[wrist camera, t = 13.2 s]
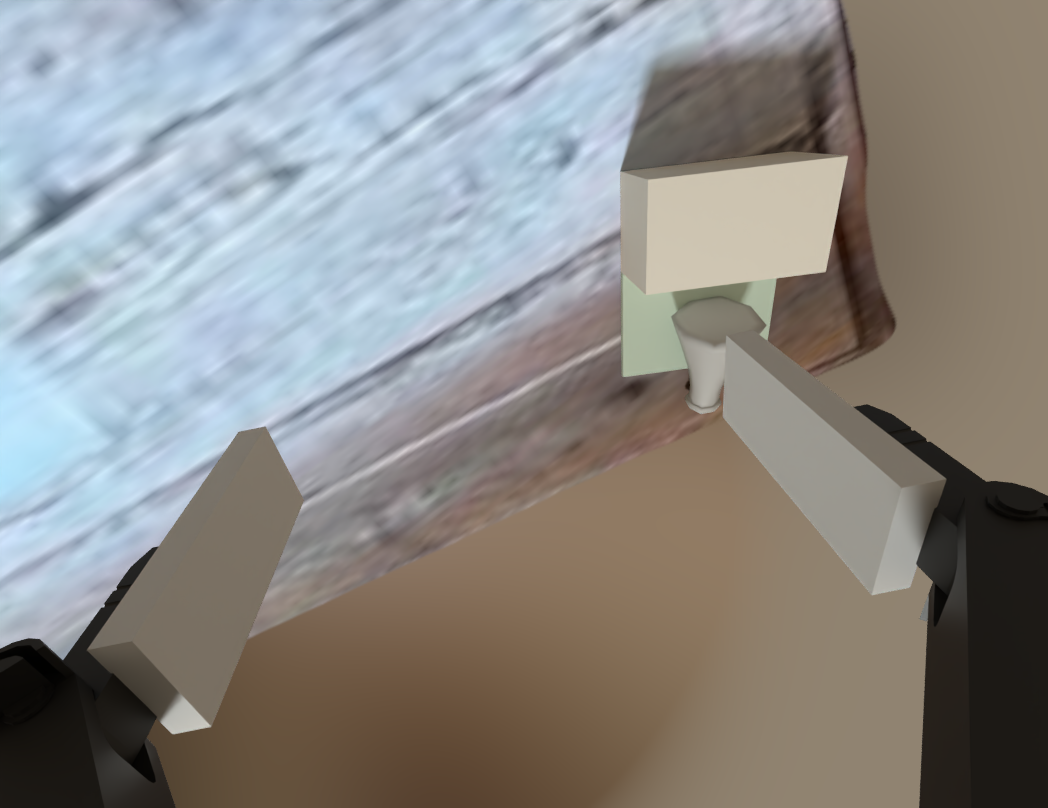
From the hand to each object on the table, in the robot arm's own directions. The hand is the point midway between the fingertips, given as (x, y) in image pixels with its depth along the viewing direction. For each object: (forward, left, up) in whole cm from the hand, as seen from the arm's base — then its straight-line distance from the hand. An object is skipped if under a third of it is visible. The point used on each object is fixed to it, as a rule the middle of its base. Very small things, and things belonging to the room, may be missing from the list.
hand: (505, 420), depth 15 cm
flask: (+9, +19, -27) cm, 34 cm away
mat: (+10, +19, -31) cm, 37 cm away
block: (+1, +19, -31) cm, 36 cm away
